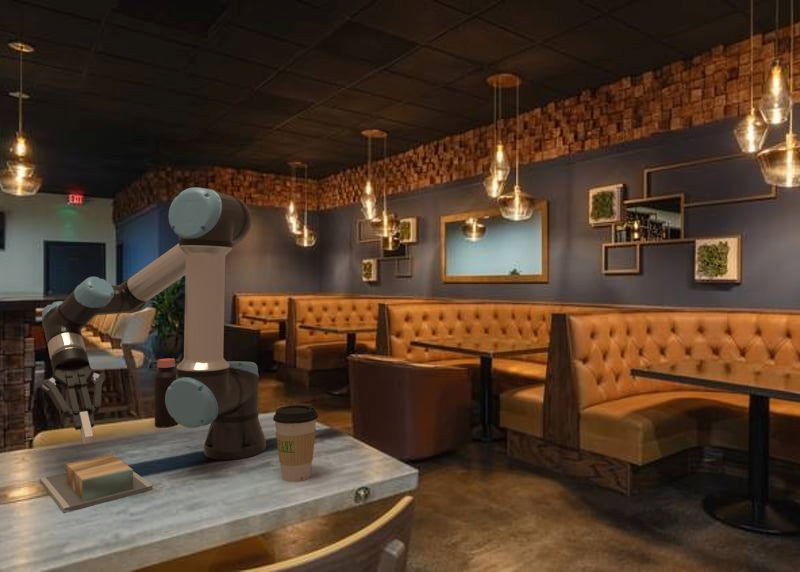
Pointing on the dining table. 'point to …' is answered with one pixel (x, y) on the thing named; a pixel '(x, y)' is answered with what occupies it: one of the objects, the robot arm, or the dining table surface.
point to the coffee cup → (295, 440)
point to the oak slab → (99, 477)
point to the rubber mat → (72, 501)
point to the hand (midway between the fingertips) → (88, 439)
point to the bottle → (163, 392)
